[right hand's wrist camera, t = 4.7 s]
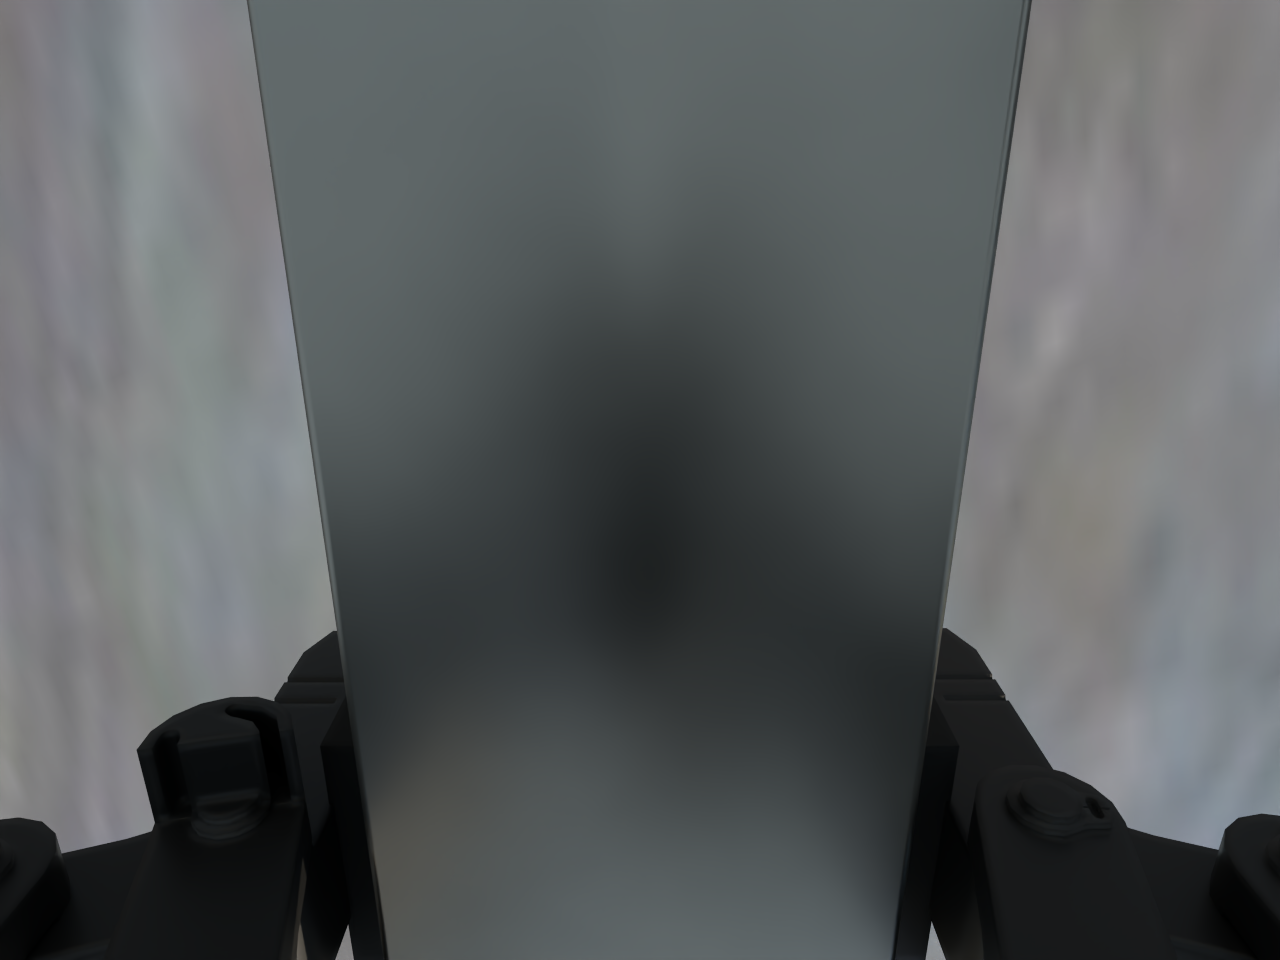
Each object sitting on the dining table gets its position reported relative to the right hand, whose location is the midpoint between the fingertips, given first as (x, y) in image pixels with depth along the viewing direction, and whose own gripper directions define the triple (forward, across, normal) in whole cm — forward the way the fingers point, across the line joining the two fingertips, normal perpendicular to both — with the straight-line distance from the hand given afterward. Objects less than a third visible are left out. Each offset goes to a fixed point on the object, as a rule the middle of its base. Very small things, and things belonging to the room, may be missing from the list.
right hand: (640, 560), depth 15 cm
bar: (+1, 0, -8) cm, 8 cm away
